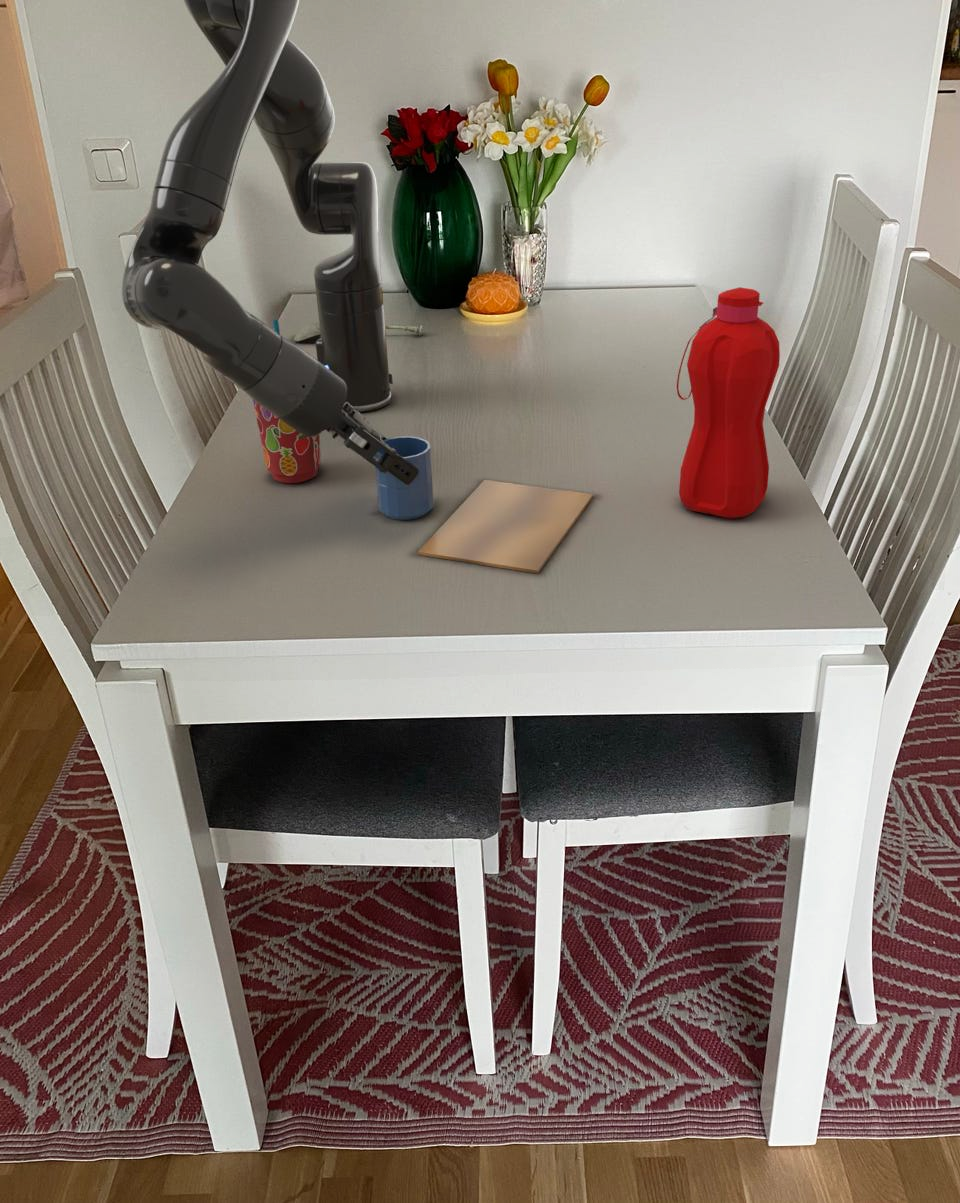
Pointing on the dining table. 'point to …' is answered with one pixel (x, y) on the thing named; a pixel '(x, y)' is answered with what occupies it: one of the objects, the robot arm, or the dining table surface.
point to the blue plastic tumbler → (396, 494)
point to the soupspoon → (314, 330)
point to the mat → (508, 526)
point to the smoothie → (286, 446)
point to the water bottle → (729, 408)
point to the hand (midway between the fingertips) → (400, 464)
